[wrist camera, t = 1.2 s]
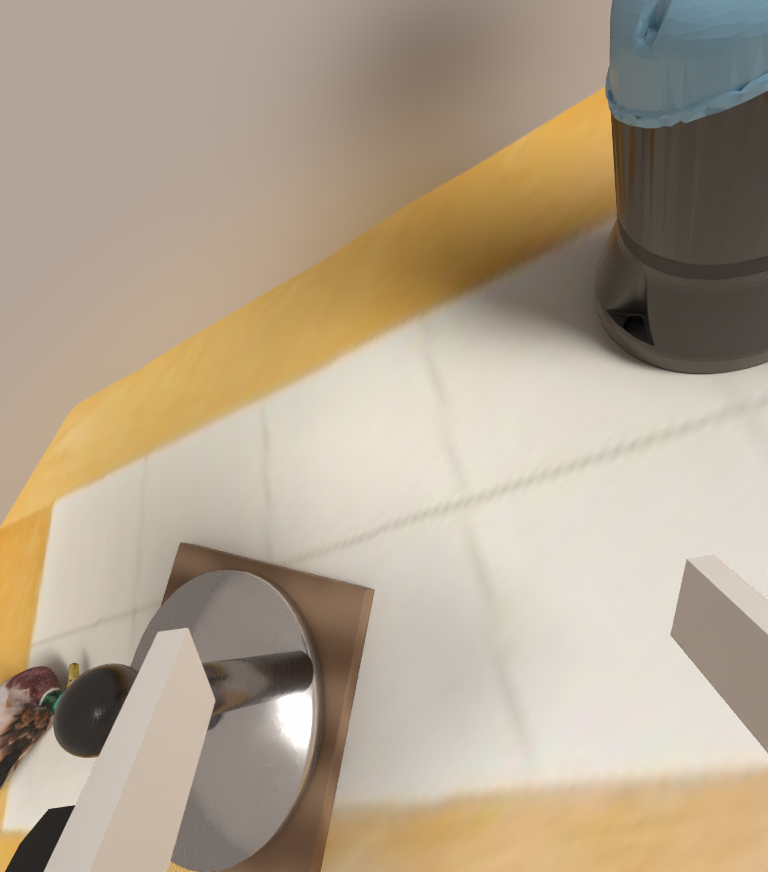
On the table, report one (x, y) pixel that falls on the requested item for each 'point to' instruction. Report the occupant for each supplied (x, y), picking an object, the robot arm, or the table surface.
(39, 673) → the decorative duck model
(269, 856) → the walnut stand board
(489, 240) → the table surface
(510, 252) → the table surface
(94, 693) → the dial
